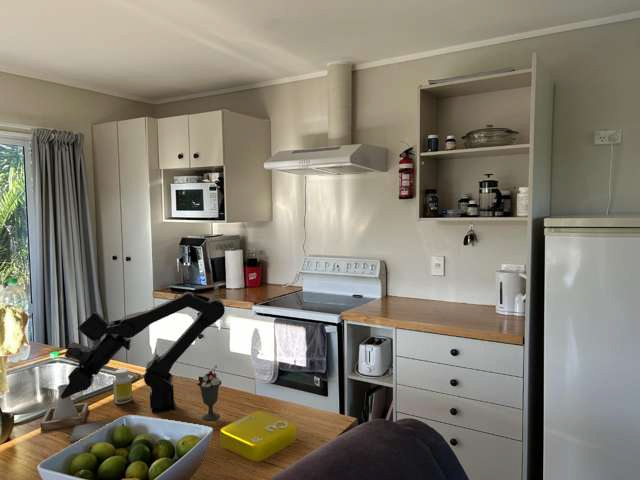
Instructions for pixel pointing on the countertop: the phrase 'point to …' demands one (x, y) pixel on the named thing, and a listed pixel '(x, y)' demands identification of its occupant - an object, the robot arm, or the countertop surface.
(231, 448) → the element tile
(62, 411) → the flask
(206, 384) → the sundae
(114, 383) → the supplement bottle
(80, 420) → the walnut well
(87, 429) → the rubber mat
